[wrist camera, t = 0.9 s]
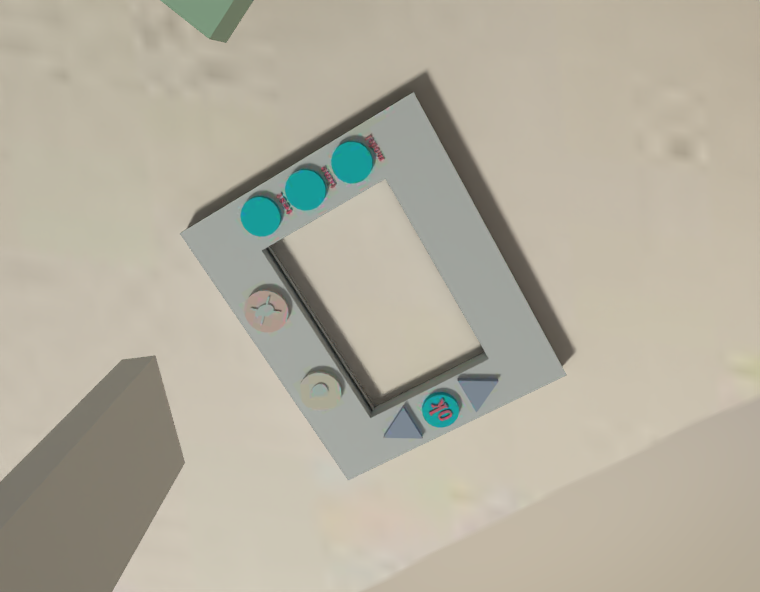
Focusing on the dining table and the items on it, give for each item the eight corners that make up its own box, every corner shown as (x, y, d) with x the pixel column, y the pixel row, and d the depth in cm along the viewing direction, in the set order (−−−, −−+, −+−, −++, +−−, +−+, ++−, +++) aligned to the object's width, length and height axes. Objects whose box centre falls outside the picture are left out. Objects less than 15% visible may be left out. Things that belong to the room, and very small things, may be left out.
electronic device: (568, 378, 37) (347, 484, 40) (559, 362, 39) (350, 464, 42) (413, 92, 33) (177, 235, 36) (413, 91, 35) (190, 226, 38)
